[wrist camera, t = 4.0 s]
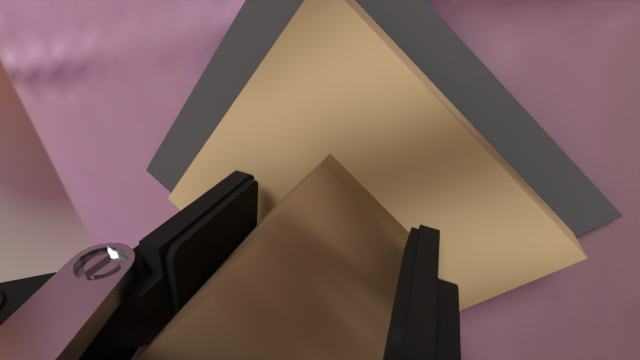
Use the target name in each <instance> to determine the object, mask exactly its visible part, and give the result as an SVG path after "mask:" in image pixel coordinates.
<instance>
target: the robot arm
mask: <svg viewBox="0 0 640 360" xmlns="http://www.w3.org/2000/svg"><path fill="white" fill-rule="evenodd" d="M257 214H258V181H256V180H255V178H254V176H253V175H251V174H248V173H244V172H241V171H237V170H236V171H234V172H233V173H231V174H230V175H228V176H227V177H226V178H224V179H223V180H222V181H220V182H219V183H218V184H216V185H215V186H214V187H212V188H211V189H209V190H208V191H207V192H205V193H204V194H203V195H201V196H200V197H199V198H197V199H196V200H195V201H193V202H192V203H191V204H189V205H188V206H186V207H185V208H184V209H182V210H181V211H180V212H178V213H177V214H176V215H174V216H173V217H172V218H170V219H169V220H167V221H166V222H165V223H163V224H162V225H161V226H159V227H158V228H157V229H155V230H154V231H153V232H151V233H150V234H149V235H147V236H146V237H144V238H143V239H142V240H140V241H139V245H138V246H136V247H135V248H134V249H132V248H130V247H129V246H128V245H125V244H121V243H104V244H99V245H95V246H92V247H89V248H87V249H85V250H83V251H81V252H80V253H78V254H77V255H75V256H74V257H73V258H72V259H71V260H69V262H67V263H66V264H65V265H64V266H63V267H62V268H61V269H60V270H59V271H58V272H55V273H50V274H44V275H39V276H34V277H29V278H24V279H19V280H13V281H8V282H3V283H0V360H135V359H136V358H137V357H138V355H139V354H140V353H141V352H142V351H143V350H144V349H145V348H146V347H147V346H148V344H149V343H150V342H151V341H152V340H153V339H154V338H155V337H156V336H157V335H158V333H159V332H160V331H161V330H162V329H163V328H164V327H165V326H166V325H167V324H168V322H169V321H170V320H171V319H172V318H173V317H174V316H175V315H176V314H177V313H178V312H179V311H180V310H181V309H182V307H183V306H184V305H185V304H186V303H187V302H188V301H189V300H190V299H191V298H192V296H193V295H194V294H195V293H196V292H197V291H198V290H199V289H200V288H201V286H202V285H203V284H204V283H205V282H206V281H207V280H208V279H209V278H210V277H211V275H212V274H213V273H214V272H215V271H216V270H217V269H218V268H219V267H220V265H221V264H222V263H223V262H224V261H225V260H226V259H227V258H228V257H229V256H230V254H231V253H232V252H233V251H234V250H235V249H236V248H237V247H238V246H239V245H240V243H241V242H242V241H243V240H244V239H245V238H246V237H247V236H248V235H249V233H250V232H251V231H252V230H253V229H254V228H255V227H256V226H257ZM439 246H440V230H438V229H435V228H431V227H428V226H424V225H421V224H420V226H419V229H417V228H414V227H411V230H410V233H409V236H408V239H407V242H406V245H405V248H404V253H403V258H402V263H401V268H400V273H399V278H398V283H397V289H396V294H395V299H394V304H393V309H392V314H391V319H390V325H389V330H388V335H387V340H386V345H385V350H384V355H383V360H461V349H460V315H459V289H458V285H457V284H455V283H451V282H448V281H445V280H442V279H439V278H438V267H439Z"/></svg>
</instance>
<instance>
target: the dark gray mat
mask: <svg viewBox="0 0 640 360" xmlns="http://www.w3.org/2000/svg"><path fill="white" fill-rule="evenodd" d="M355 1H356V2H357V3H358V4H359V5H360V6H361V7H362V8H363V9H364V10H365V11H366V13H367V14H368V15H369V16H370V17H371V18H372V19H373V20H374V21H375V22H376V23H377V24H378V25H379V26H380V27H381V29H382V30H383V31H384V32H385V33H386V34H387V35H388V36H389V37H390V38H391V39H392V40H393V41H394V42H395V43H396V44H397V46H398V47H399V48H400V49H401V50H402V51H403V52H404V53H405V54H406V55H407V56H408V57H409V58H410V59H411V60H412V62H413V63H414V64H415V65H416V66H417V67H418V68H419V69H420V70H421V71H422V72H423V73H424V74H425V75H426V76H427V78H428V79H429V80H430V81H431V82H432V83H433V84H434V85H435V86H436V87H437V88H438V89H439V90H440V91H441V92H442V93H443V95H444V96H445V97H446V98H447V99H448V100H449V101H450V102H451V103H452V104H453V105H454V106H455V107H456V108H457V109H458V111H459V112H460V113H461V114H462V115H463V116H464V117H465V118H466V119H467V120H468V121H469V122H470V123H471V124H472V125H473V126H474V128H475V129H476V130H477V131H478V132H479V133H480V134H481V135H482V136H483V137H484V138H485V139H486V140H487V141H488V142H489V144H490V145H491V146H492V147H493V148H494V149H495V150H496V151H497V152H498V153H499V154H500V155H501V156H502V157H503V158H504V160H505V161H506V162H507V163H508V164H509V165H510V166H511V167H512V168H513V169H514V170H515V171H516V172H517V173H518V174H519V175H520V177H521V178H522V179H523V180H524V181H525V182H526V183H527V184H528V185H529V186H530V187H531V188H532V189H533V190H534V191H535V193H536V194H537V195H538V196H539V197H540V198H541V199H542V200H543V201H544V202H545V203H546V204H547V205H548V206H549V207H550V208H551V210H552V211H553V212H554V213H555V214H556V215H557V216H558V217H559V218H560V219H561V220H562V221H563V222H564V223H565V224H566V226H567V227H568V228H569V229H570V230H571V231H572V232H573V233H574V235H575V237H578V236H580V235H582V234H585V233H587V232H589V231H591V230H593V229H595V228H598V227H600V226H602V225H604V224H606V223H608V222H611V221H613V220H615V219H617V218H619V217H621V216H622V215H621V214H620V213H619V212H618V211H617V210H616V208H615V207H614V206H613V205H612V204H611V203H610V202H609V201H608V200H607V199H606V198H605V196H604V195H603V194H602V193H601V192H600V191H599V190H598V189H597V188H596V187H595V186H594V184H593V183H592V182H591V181H590V180H589V179H588V178H587V177H586V176H585V175H584V174H583V172H582V171H581V170H580V169H579V168H578V167H577V166H576V165H575V164H574V163H573V162H572V160H571V159H570V158H569V157H568V156H567V155H566V154H565V153H564V152H563V151H562V150H561V148H560V147H559V146H558V145H557V144H556V143H555V142H554V141H553V140H552V139H551V138H550V136H549V135H548V134H547V133H546V132H545V131H544V130H543V129H542V128H541V127H540V126H539V124H538V123H537V122H536V121H535V120H534V119H533V118H532V117H531V116H530V115H529V114H528V112H527V111H526V110H525V109H524V108H523V107H522V106H521V105H520V104H519V103H518V102H517V100H516V99H515V98H514V97H513V96H512V95H511V94H510V93H509V92H508V91H507V90H506V88H505V87H504V86H503V85H502V84H501V83H500V82H499V81H498V80H497V79H496V78H495V76H494V75H493V74H492V73H491V72H490V71H489V70H488V69H487V68H486V67H485V66H484V64H483V63H482V62H481V61H480V60H479V59H478V58H477V57H476V56H475V55H474V54H473V52H472V51H471V50H470V49H469V48H468V47H467V46H466V45H465V44H464V43H463V42H462V40H461V39H460V38H459V37H458V36H457V35H456V34H455V33H454V32H453V31H452V30H451V28H450V27H449V26H448V25H447V24H446V23H445V22H444V21H443V20H442V19H441V18H440V16H439V15H438V14H437V13H436V12H435V11H434V10H433V9H432V8H431V7H430V6H429V4H428V3H427V2H426V1H425V0H355ZM303 2H304V0H246V1H245V2H244V4H243V6H242V7H241V9H240V11H239V13H238V14H237V16H236V18H235V19H234V21H233V23H232V25H231V26H230V28H229V30H228V31H227V33H226V35H225V36H224V38H223V40H222V42H221V43H220V45H219V47H218V48H217V50H216V52H215V53H214V55H213V57H212V59H211V60H210V62H209V64H208V65H207V67H206V69H205V71H204V72H203V74H202V76H201V77H200V79H199V81H198V82H197V84H196V86H195V88H194V89H193V91H192V93H191V94H190V96H189V98H188V100H187V101H186V103H185V105H184V106H183V108H182V110H181V111H180V113H179V115H178V117H177V118H176V120H175V122H174V123H173V125H172V127H171V128H170V130H169V132H168V134H167V135H166V137H165V139H164V140H163V142H162V144H161V146H160V147H159V149H158V151H157V152H156V154H155V156H154V157H153V159H152V161H151V163H150V164H149V166H148V168H147V169H146V170H147V171H148V172H149V173H150V174H151V175H152V176H153V177H154V178H155V179H157V180H158V181H159V182H160V183H161V184H162V185H163V186H164V187H165V188H166V189H168V190H169V191H170V192H171V193H172V191H173V190H174V188H175V187H176V185H177V184H178V182H179V181H180V180H181V178H182V177H183V175H184V174H185V172H186V171H187V169H188V168H189V166H190V165H191V164H192V162H193V161H194V159H195V158H196V156H197V155H198V153H199V152H200V151H201V149H202V148H203V146H204V145H205V143H206V142H207V140H208V139H209V138H210V136H211V135H212V133H213V132H214V130H215V129H216V127H217V126H218V125H219V123H220V122H221V120H222V119H223V117H224V116H225V114H226V113H227V112H228V110H229V109H230V107H231V106H232V104H233V103H234V101H235V100H236V98H237V97H238V96H239V94H240V93H241V91H242V90H243V88H244V87H245V85H246V84H247V83H248V81H249V80H250V78H251V77H252V75H253V74H254V72H255V71H256V70H257V68H258V67H259V65H260V64H261V62H262V61H263V59H264V58H265V57H266V55H267V54H268V52H269V51H270V49H271V48H272V46H273V45H274V44H275V42H276V41H277V39H278V38H279V36H280V35H281V33H282V32H283V30H284V29H285V28H286V26H287V25H288V23H289V22H290V20H291V19H292V17H293V16H294V15H295V13H296V12H297V10H298V9H299V7H300V6H301V4H302V3H303Z"/></svg>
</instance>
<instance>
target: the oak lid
mask: <svg viewBox="0 0 640 360" xmlns="http://www.w3.org/2000/svg"><path fill="white" fill-rule="evenodd" d="M236 170H237V171H241V172H244V173H248V174H251V175H253V176H254V178H255V180H256V181H258V214H257V226H256V227H255V228H254V229H253V230H252V231H251V232H250V233H249V235H248V236H247V237H246V238H245V239H244V240H243V241H242V242H241V243H240V245H239V246H238V247H237V248H236V249H235V250H234V251H233V252H232V253H231V254H230V256H229V257H228V258H227V259H226V260H225V261H224V262H223V263H222V264H221V265H220V267H219V268H218V269H217V270H216V271H215V272H214V273H213V274H212V275H211V277H210V278H209V279H208V280H207V281H206V282H205V283H204V284H203V285H202V286H201V288H200V289H199V290H198V291H197V292H196V293H195V294H194V295H193V296H192V298H191V299H190V300H189V301H188V302H187V303H186V304H185V305H184V306H183V307H182V309H181V310H180V311H179V312H178V313H177V314H176V315H175V316H174V317H173V318H172V319H171V320H170V321H169V322H168V324H167V325H166V326H165V327H164V328H163V329H162V330H161V331H160V332H159V333H158V335H157V336H156V337H155V338H154V339H153V340H152V341H151V342H150V343H149V344H148V346H147V347H146V348H145V349H144V350H143V351H142V352H141V353H140V354H139V355H138V357H137V358H136V359H135V360H383V355H384V350H385V345H386V340H387V335H388V330H389V325H390V319H391V314H392V309H393V304H394V299H395V294H396V289H397V283H398V278H399V273H400V268H401V263H402V258H403V253H404V248H405V245H406V242H407V239H408V236H409V233H410V230H411V227H414V228H417V229H419V226H420V224H421V225H424V226H428V227H431V228H435V229H438V230H440V246H439V267H438V278H439V279H442V280H445V281H448V282H451V283H455V284H457V285H458V289H459V311H461V310H464V309H466V308H468V307H471V306H473V305H476V304H478V303H480V302H483V301H485V300H488V299H490V298H493V297H495V296H497V295H500V294H502V293H505V292H507V291H510V290H512V289H514V288H517V287H519V286H522V285H524V284H526V283H529V282H531V281H534V280H536V279H539V278H541V277H543V276H546V275H548V274H551V273H553V272H556V271H558V270H560V269H563V268H565V267H568V266H570V265H573V264H575V263H577V262H580V261H582V260H585V259H587V256H586V255H585V253H584V251H583V249H582V247H581V246H580V244H579V242H578V240H577V239H576V237H575V235H574V233H573V232H572V231H571V230H570V229H569V228H568V227H567V226H566V224H565V223H564V222H563V221H562V220H561V219H560V218H559V217H558V216H557V215H556V214H555V213H554V212H553V211H552V210H551V208H550V207H549V206H548V205H547V204H546V203H545V202H544V201H543V200H542V199H541V198H540V197H539V196H538V195H537V194H536V193H535V191H534V190H533V189H532V188H531V187H530V186H529V185H528V184H527V183H526V182H525V181H524V180H523V179H522V178H521V177H520V175H519V174H518V173H517V172H516V171H515V170H514V169H513V168H512V167H511V166H510V165H509V164H508V163H507V162H506V161H505V160H504V158H503V157H502V156H501V155H500V154H499V153H498V152H497V151H496V150H495V149H494V148H493V147H492V146H491V145H490V144H489V142H488V141H487V140H486V139H485V138H484V137H483V136H482V135H481V134H480V133H479V132H478V131H477V130H476V129H475V128H474V126H473V125H472V124H471V123H470V122H469V121H468V120H467V119H466V118H465V117H464V116H463V115H462V114H461V113H460V112H459V111H458V109H457V108H456V107H455V106H454V105H453V104H452V103H451V102H450V101H449V100H448V99H447V98H446V97H445V96H444V95H443V93H442V92H441V91H440V90H439V89H438V88H437V87H436V86H435V85H434V84H433V83H432V82H431V81H430V80H429V79H428V78H427V76H426V75H425V74H424V73H423V72H422V71H421V70H420V69H419V68H418V67H417V66H416V65H415V64H414V63H413V62H412V60H411V59H410V58H409V57H408V56H407V55H406V54H405V53H404V52H403V51H402V50H401V49H400V48H399V47H398V46H397V44H396V43H395V42H394V41H393V40H392V39H391V38H390V37H389V36H388V35H387V34H386V33H385V32H384V31H383V30H382V29H381V27H380V26H379V25H378V24H377V23H376V22H375V21H374V20H373V19H372V18H371V17H370V16H369V15H368V14H367V13H366V11H365V10H364V9H363V8H362V7H361V6H360V5H359V4H358V3H357V2H356V1H355V0H304V2H303V3H302V4H301V6H300V7H299V9H298V10H297V12H296V13H295V15H294V16H293V17H292V19H291V20H290V22H289V23H288V25H287V26H286V28H285V29H284V30H283V32H282V33H281V35H280V36H279V38H278V39H277V41H276V42H275V44H274V45H273V46H272V48H271V49H270V51H269V52H268V54H267V55H266V57H265V58H264V59H263V61H262V62H261V64H260V65H259V67H258V68H257V70H256V71H255V72H254V74H253V75H252V77H251V78H250V80H249V81H248V83H247V84H246V85H245V87H244V88H243V90H242V91H241V93H240V94H239V96H238V97H237V98H236V100H235V101H234V103H233V104H232V106H231V107H230V109H229V110H228V112H227V113H226V114H225V116H224V117H223V119H222V120H221V122H220V123H219V125H218V126H217V127H216V129H215V130H214V132H213V133H212V135H211V136H210V138H209V139H208V140H207V142H206V143H205V145H204V146H203V148H202V149H201V151H200V152H199V153H198V155H197V156H196V158H195V159H194V161H193V162H192V164H191V165H190V166H189V168H188V169H187V171H186V172H185V174H184V175H183V177H182V178H181V180H180V181H179V182H178V184H177V185H176V187H175V188H174V190H173V191H172V193H171V194H170V195H169V197H168V199H169V200H170V201H171V202H172V203H173V204H174V205H175V206H176V207H178V208H179V209H180V210H182V209H184V208H185V207H186V206H188V205H189V204H191V203H192V202H193V201H195V200H196V199H197V198H199V197H200V196H201V195H203V194H204V193H205V192H207V191H208V190H209V189H211V188H212V187H214V186H215V185H216V184H218V183H219V182H220V181H222V180H223V179H224V178H226V177H227V176H228V175H230V174H231V173H233V172H234V171H236Z"/></svg>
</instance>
